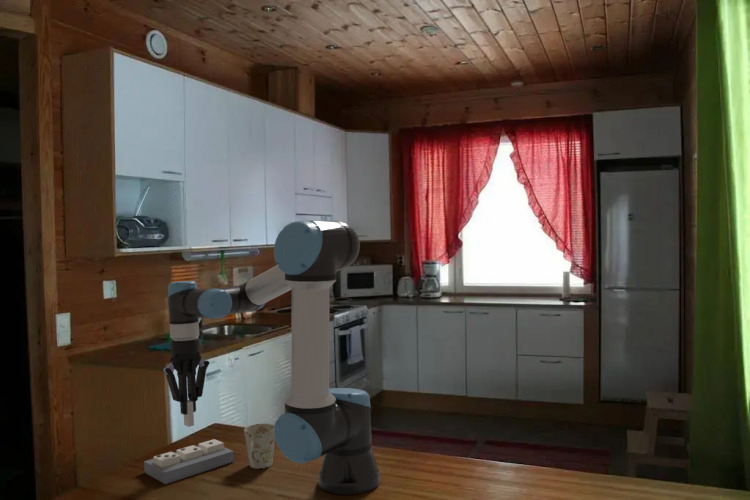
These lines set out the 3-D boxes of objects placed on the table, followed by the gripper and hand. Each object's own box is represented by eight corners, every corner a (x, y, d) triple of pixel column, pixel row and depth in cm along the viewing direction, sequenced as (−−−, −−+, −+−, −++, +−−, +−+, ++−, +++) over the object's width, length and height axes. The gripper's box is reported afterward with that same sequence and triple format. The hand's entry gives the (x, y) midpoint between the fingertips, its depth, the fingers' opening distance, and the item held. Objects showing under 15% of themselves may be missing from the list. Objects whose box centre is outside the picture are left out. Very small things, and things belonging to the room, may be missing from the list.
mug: (280, 459, 169) (278, 423, 169) (267, 477, 157) (266, 438, 156) (250, 459, 170) (249, 423, 170) (236, 476, 157) (234, 438, 157)
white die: (203, 463, 165) (202, 448, 165) (185, 468, 162) (185, 453, 162) (193, 458, 169) (193, 444, 169) (177, 463, 165) (176, 449, 165)
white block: (224, 456, 170) (223, 442, 170) (208, 461, 166) (207, 446, 166) (214, 452, 174) (214, 438, 173) (198, 457, 170) (198, 443, 170)
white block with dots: (180, 470, 161) (180, 454, 161) (162, 475, 157) (161, 460, 157) (171, 465, 164) (171, 450, 164) (153, 470, 161) (153, 455, 161)
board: (234, 461, 168) (233, 451, 168) (165, 484, 154) (164, 472, 154) (211, 452, 177) (211, 441, 177) (144, 472, 163) (144, 461, 163)
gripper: (199, 334, 172) (203, 417, 173) (155, 340, 163) (159, 428, 163) (213, 336, 167) (217, 421, 167) (168, 343, 158) (173, 433, 158)
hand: (189, 425), depth 165 cm, fingers closed
